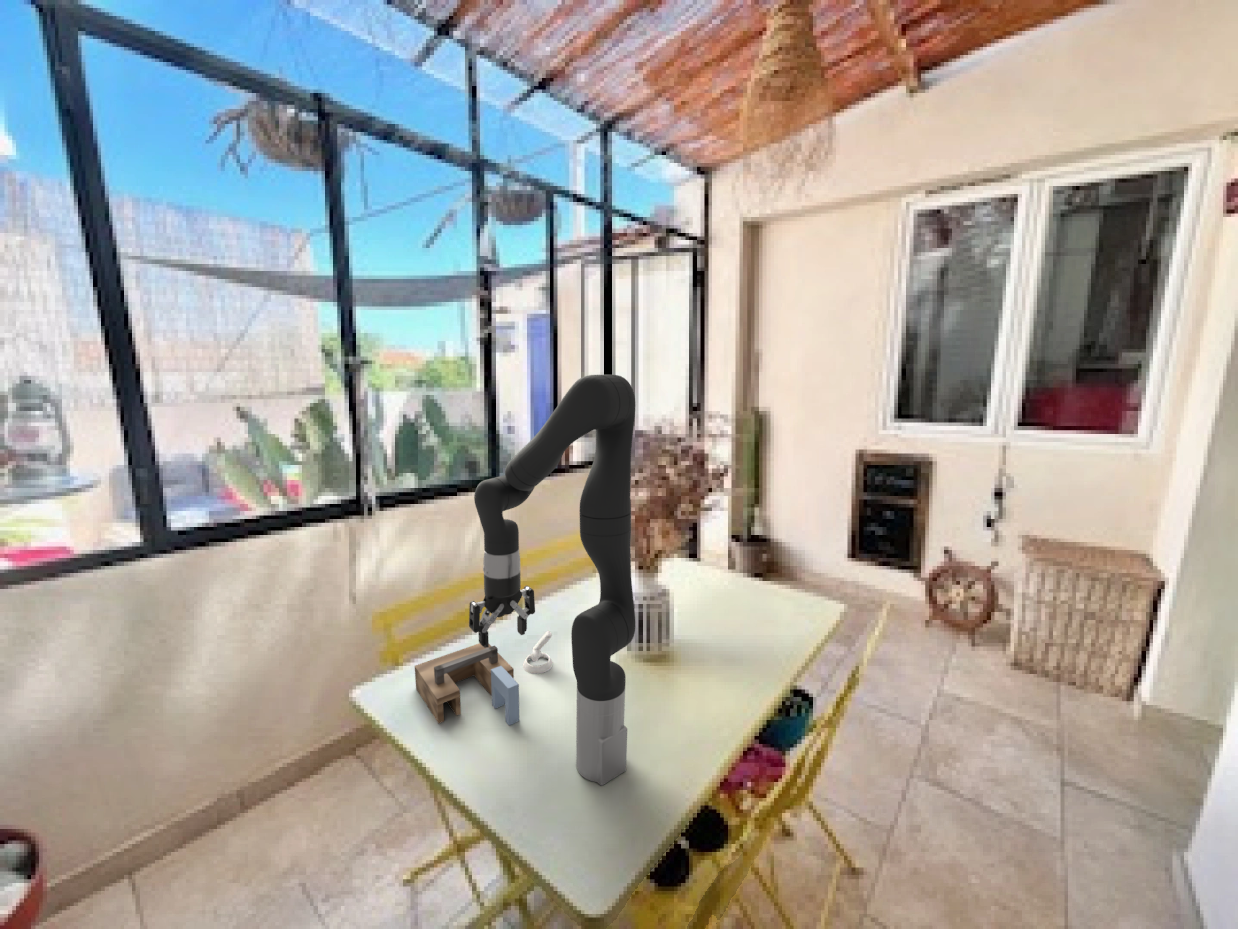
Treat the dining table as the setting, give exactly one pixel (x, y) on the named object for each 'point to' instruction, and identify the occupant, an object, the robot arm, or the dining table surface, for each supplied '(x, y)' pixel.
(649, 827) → the dining table surface
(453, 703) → the wooden stand with handle
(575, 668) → the robot arm
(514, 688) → the blue arch block
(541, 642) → the mortar and pestle
